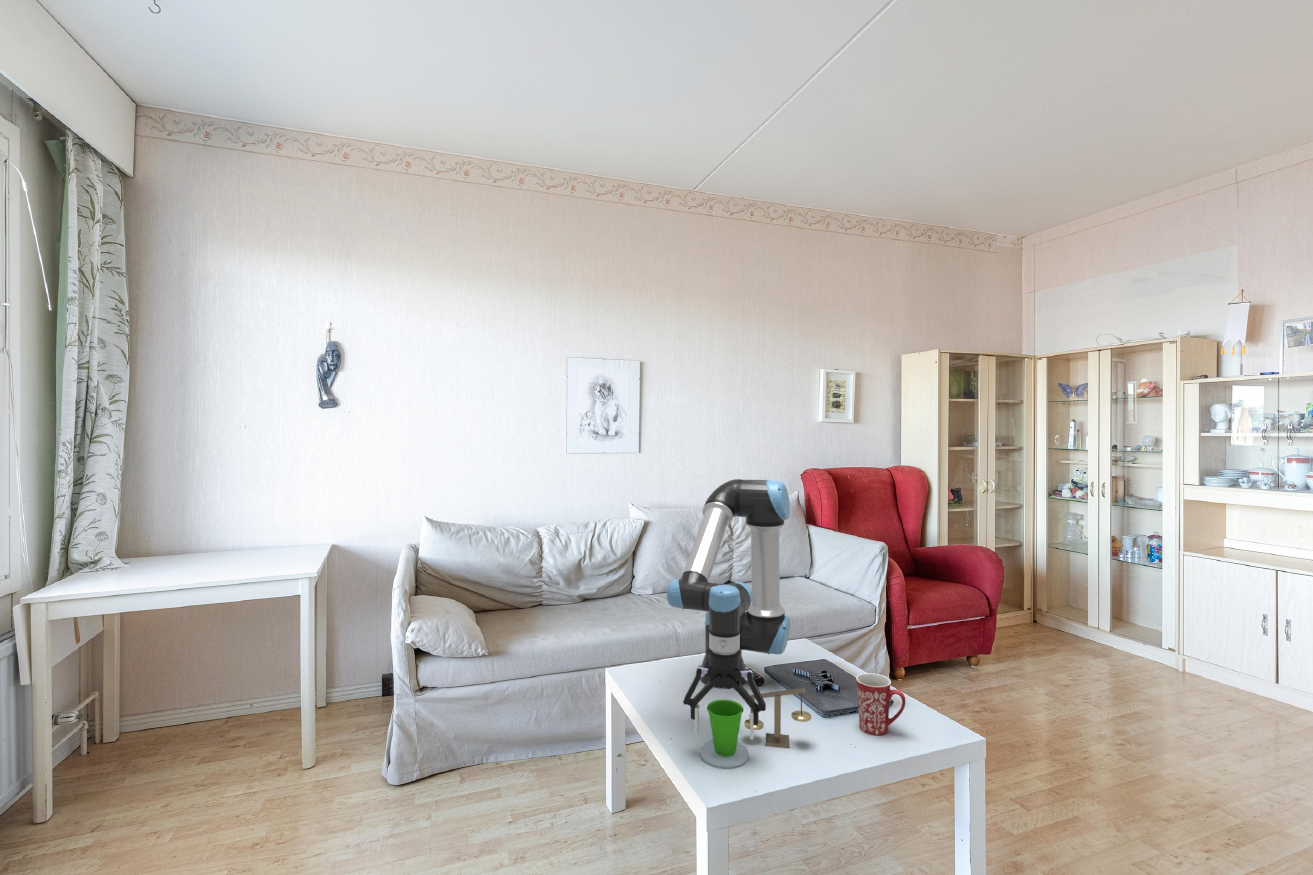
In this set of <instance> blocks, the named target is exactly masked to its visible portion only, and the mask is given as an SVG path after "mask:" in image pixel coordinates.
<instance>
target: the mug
mask: <svg viewBox="0 0 1313 875" xmlns="http://www.w3.org/2000/svg"><path fill="white" fill-rule="evenodd" d="M855 680H856V690H857V707H858V709H857V710H858V722H859V725H858V726H859V729H860V730H861V731H862V732H864V733H866V734H869V735H871V736H883V735H886V734H887V733H889V732H888V731H889V726H890V725H892V724H893V723H894V722H895V721H896V720H897V719H898V718H899V717H900V716H901V715H902V713H903V712H904V710H905V707H906V697H905V694H904V693H903V692H902V691H901V690H900V689H891V685H892V681H891V678H889V677H887V676H885V675H883V674H879V673H875V672H874V673H873V672H868V673H867V672H864V673H859V674H858V675H856V677H855ZM894 695H898V696H899V697H900V699H901V707H900V708H899V710H898V711H897V712H896V714H894V715H893V716H892V717H891V718H890V717H889V716H890V700H891V699H892V697H893V696H894Z"/></svg>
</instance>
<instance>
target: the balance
mask: <svg viewBox="0 0 1313 875" xmlns="http://www.w3.org/2000/svg"><path fill="white" fill-rule="evenodd" d="M760 693H761V692H760ZM805 693H806V688H805V687H801V688H795V689H793V688H792V689H787V690H786V689H785V690H778V691H771V692H762V693H761V695H762V697H763V699H766V698H774V700H773V701H774V704H773V706H774V709H773V710H774V715H773V716H774V722H773V723H774V725H773V726H774V729H773V732H774V733H770V732H765V746H766V747H774V748H775V747H776V748H786V749H790V735H789V734H783V733H781V731H782V730H781V729H782V726H781V723H782V722H781V718H782V712H781V711H782V708H781V705H782V703H781V702H782V699H781V698H782V696H792V695H798V694H800V710H794V711H793V712H791V718H792V719H793V720H795V721H796V722H802V723H805V722H809V721H811V720H812V714H811V713H810V712H807V711H805V710H803V694H805ZM750 696H751V697H752V698H753V700H754V701H755V702H756V699H755V696H754V694H753V693H752V694H750ZM759 717H760V716H759V715H758V725H754V731H759V730H760V731H761V730H762V729H764V725H765V724H764V722H763V721H762V720H760V718H759ZM743 725H744V727H745V728H746V729H748V730H750V714H749V718H748V719H746V720H744V724H743Z"/></svg>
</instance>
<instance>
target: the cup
mask: <svg viewBox="0 0 1313 875" xmlns="http://www.w3.org/2000/svg"><path fill="white" fill-rule="evenodd" d="M706 710H707V712H708V716H709V717H708V718H709V722H710V728H711V736H712V740H713V743H714V749H715V751H716V753H717V754H718V755H720V756H725V757H727V756H732V755H733V754H734V753H735V751H736V746H737V742H738V741H739V740H738V739H739V733H740V727H741V720H742V714H743V712H744V707H743V706H742V704H741V703H739V702H738V701H734V700H731V699H716V700H712V701H711V702H709V703H708V704H707V706H706Z"/></svg>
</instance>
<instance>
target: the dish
mask: <svg viewBox="0 0 1313 875" xmlns="http://www.w3.org/2000/svg"><path fill="white" fill-rule="evenodd" d="M749 755H750V753H749V749H748V747H746V745H744V744H742V743H741V742H739V741H737V746H736V751H735V753H734V754H733V755H732V756H727V757H725V756H720V755H718V754H717V753H716V751H715V749H714V743H713V739H711V740H708V741H705V742H704V743H703V744H702V745H701V746H700V749H699V757H700V758H701V761H702V762H704V763H705V764H707V765H708V766H711V767H712V768H716V769H722V770H724V769H725V770H730V769H731V770H732V769H736V768H739V767H742V766H744V765H746V763H747V762H748V761H749Z"/></svg>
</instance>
